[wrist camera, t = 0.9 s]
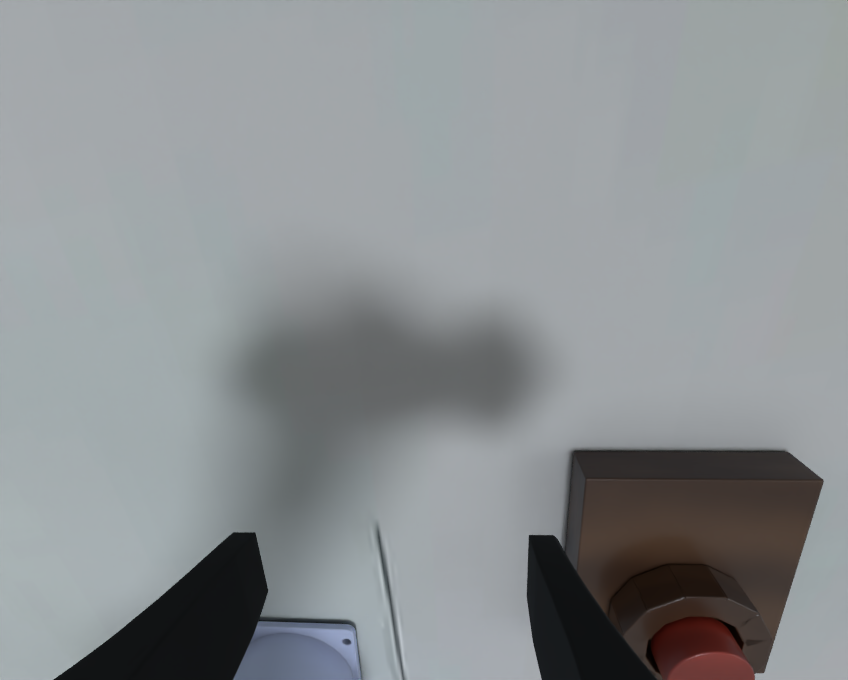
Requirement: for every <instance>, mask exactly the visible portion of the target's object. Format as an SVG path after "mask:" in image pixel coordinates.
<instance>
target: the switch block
mask: <svg viewBox="0 0 848 680" xmlns="http://www.w3.org/2000/svg"><path fill="white" fill-rule="evenodd" d="M823 482H824V481H823V479H821V478H820V477H819V476H818V475H816V474H815V473H814V472H813V471H811V470H810V469H809V468H808V467H806V466H805V465H804V464H803V463H802V462H800V461H799V460H798V459H797V458H795V457H794V456H793V455H792V454H790V453H789V452H650V451H575V452H574V455H573V466H572V478H571V490H570V502H569V514H568V526H567V538H566V550H565V553H566V555H567V557H568V558H569V560H570V562H571V563H572V565H573V567H574V568H575V570H576V571H577V573H578V574H579V576H580V577H581V579H582V581H583V582H584V584H585V585H586V587H587V588H588V590H589V591H590V593H591V594H592V595H593V597H594V598H595V600H596V601H597V603H598V604H599V605H600V607H601V608H602V610H603V611H604V612H605V614H606V615H607V617H608V618H609V619H610V621H611V622H612V623H613V625H614V626H615V627H616V629H617V630H618V631H619V633H620V634H621V635H622V637H623V638H624V639H625V640H626V642H627V643H628V644H629V645H630V647H631V648H632V649H633V651H634V652H635V653H636V654H637V656H638V657H639V658H640V659H641V660H642V662H643V663H644V664H645V665H646V666H647V668H648V669H649V670H650V671H651V672H652V674H653V675H654V676H655V677H656V678H657V679H658V680H663V678H662V676H661V673H660V671H659V669H658V666H657V664H656V662H655V659H654V657H653V654H652V651H651V640H652V637H653V635H654V634H655V633H657V632H658V631H659V630H660V629H661V628H662V627H663V626H664V625H665V624H668V623H671V622H674V621H676V620H679V619H682V618H685V617H711V618H714V619H716V620H718V621H720V622H721V623H723V624H724V625H725V626H726V627H727V628H728V629H729V631H730V632H731V634H732V635H733V637H734V639H735V640H736V642H737V643H738V645H739V647H740V648H741V650H742V652H743V653H744V655H745V657H746V658H747V660H748V661H749V663H750V665H751V666H752V668H753V671H754V674H755V673H764V672H765V669H766V665H767V662H768V659H769V656H770V652H771V649H772V646H773V643H774V640H775V636H776V633H777V630H778V627H779V624H780V620H781V617H782V614H783V611H784V608H785V604H786V601H787V598H788V595H789V591H790V588H791V585H792V582H793V579H794V575H795V572H796V569H797V566H798V563H799V559H800V556H801V553H802V550H803V546H804V543H805V540H806V537H807V534H808V530H809V527H810V524H811V521H812V518H813V514H814V511H815V508H816V505H817V501H818V498H819V495H820V492H821V489H822V485H823Z"/></svg>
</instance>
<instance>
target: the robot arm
mask: <svg viewBox="0 0 848 680" xmlns="http://www.w3.org/2000/svg"><path fill="white" fill-rule="evenodd" d="M267 593H268V588H267V583H266V579H265V574H264V570H263V565H262V560H261V556H260V551H259V547H258V542H257V538H256V533H239V532H233V533H232V534H231V535H230V536H229V537H228V538H226V539H225V540H224V541H223V542H222V543H221V544H220V545H218V546H217V547H216V548H215V549H214V550H213V551H212V552H211V553H210V554H208V555H207V556H206V557H205V558H204V559H203V560H202V561H201V562H200V563H198V564H197V565H196V566H195V567H194V568H193V569H192V570H191V571H190V572H188V573H187V574H186V575H185V576H184V577H183V578H182V579H180V580H179V581H178V582H177V583H176V584H175V585H174V586H173V587H171V588H170V589H169V590H168V591H167V592H166V593H165V594H163V595H162V596H161V597H160V598H159V599H158V600H156V601H155V602H154V603H153V604H152V605H150V606H149V607H148V608H147V609H145V610H144V611H143V612H142V613H141V614H139V615H138V616H137V617H136V618H135V619H133V620H132V621H131V622H130V623H128V624H127V625H126V626H125V627H124V628H122V629H121V630H120V631H119V632H118V633H116V634H115V635H114V636H112V637H111V638H110V639H109V640H107V641H106V642H105V643H103V644H102V645H101V646H99V647H98V648H97V649H95V650H94V651H93V652H91V653H90V654H89V655H87V656H86V657H84V658H83V659H82V660H80V661H79V662H78V663H76V664H75V665H73V666H72V667H71V668H69V669H68V670H67V671H65V672H64V673H62V674H61V675H59V676H58V677H57V678H55V679H54V680H362V678H361V670H360V662H359V655H358V647H357V639H356V631H355V628H354V627H353V626H351V625H349V624H327V623H298V622H268V621H259V618H260V615H261V612H262V609H263V606H264V603H265V599H266V596H267ZM527 601H528V608H529V616H530V623H531V631H532V638H533V643H534V648H535V652H536V656H537V661H538V665H539V669H540V674H541V678H542V680H658V679H657V678H656V677H655V676H654V675H653V674H652V672H651V671H650V670H649V669H648V668H647V666H646V665H645V664H644V663H643V662H642V660H641V659H640V658H639V657H638V656H637V654H636V653H635V652H634V651H633V649H632V648H631V647H630V645H629V644H628V643H627V642H626V640H625V639H624V638H623V637H622V635H621V634H620V633H619V631H618V630H617V629H616V627H615V626H614V625H613V623H612V622H611V621H610V619H609V618H608V617H607V615H606V614H605V612H604V611H603V610H602V608H601V607H600V605H599V604H598V603H597V601H596V600H595V598H594V597H593V595H592V594H591V593H590V591H589V590H588V588H587V587H586V585H585V584H584V582H583V581H582V579H581V577H580V576H579V574H578V573H577V571H576V570H575V568H574V567H573V565H572V563H571V562H570V560H569V558H568V557H567V555H566V553H565V552H564V550H563V548H562V546H561V545H560V543H559V541H558V539H557V538H556V537H555V536H554V535H529V549H528V578H527Z"/></svg>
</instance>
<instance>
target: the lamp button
mask: <svg viewBox="0 0 848 680" xmlns="http://www.w3.org/2000/svg"><path fill="white" fill-rule="evenodd" d="M651 651H652V654H653V657H654V659H655V662H656V664H657V666H658V669H659V671H660V673H661V676H662V678H663V680H755V675H754V671H753V668H752V666H751V665H750V663H749V661H748V660H747V658H746V657H745V655H744V653H743V652H742V650H741V648H740V647H739V645H738V643H737V642H736V640H735V639H734V637H733V635H732V634H731V632H730V631H729V629H728V628H727V627H726V626H725V625H724V624H723V623H721V622H720V621H718V620H716V619H714V618H711V617H685V618H682V619H679V620H676V621H674V622H671V623H668V624H665V625H664V626H663V627H662V628H661V629H660V630H659V631H658V632H657V633H655V634H654V635H653V637H652V640H651Z"/></svg>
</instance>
